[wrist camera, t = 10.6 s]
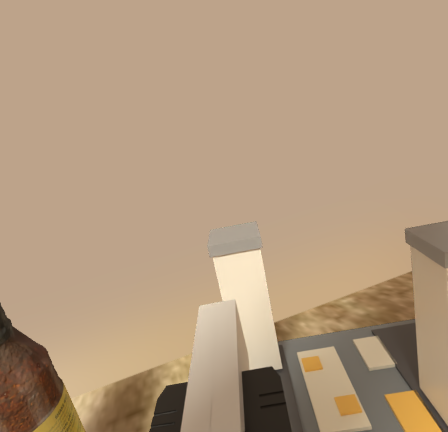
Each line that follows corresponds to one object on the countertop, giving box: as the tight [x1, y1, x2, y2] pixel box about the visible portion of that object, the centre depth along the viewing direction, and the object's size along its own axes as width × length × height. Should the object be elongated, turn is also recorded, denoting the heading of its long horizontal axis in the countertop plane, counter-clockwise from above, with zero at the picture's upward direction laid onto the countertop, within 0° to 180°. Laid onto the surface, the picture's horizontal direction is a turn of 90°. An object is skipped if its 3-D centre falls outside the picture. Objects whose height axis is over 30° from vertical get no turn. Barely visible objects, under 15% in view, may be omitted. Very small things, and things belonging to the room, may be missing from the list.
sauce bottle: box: [0, 303, 85, 432], centre depth 21 cm, size 7×6×20 cm
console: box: [275, 319, 448, 432], centre depth 29 cm, size 23×14×2 cm, turn 89°
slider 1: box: [208, 222, 282, 370], centre depth 32 cm, size 4×4×13 cm
